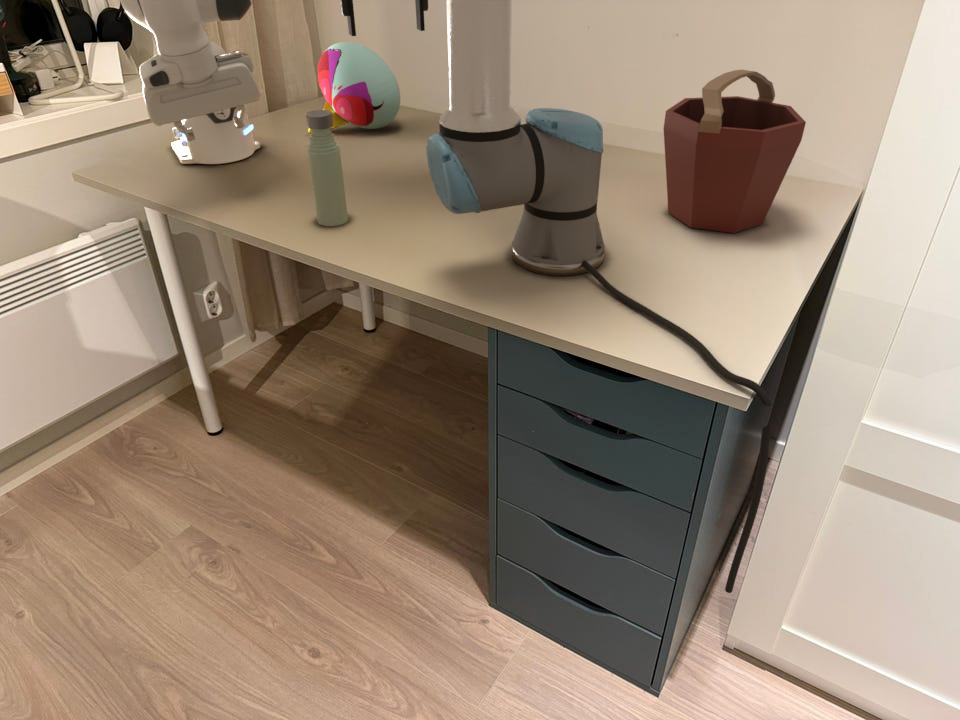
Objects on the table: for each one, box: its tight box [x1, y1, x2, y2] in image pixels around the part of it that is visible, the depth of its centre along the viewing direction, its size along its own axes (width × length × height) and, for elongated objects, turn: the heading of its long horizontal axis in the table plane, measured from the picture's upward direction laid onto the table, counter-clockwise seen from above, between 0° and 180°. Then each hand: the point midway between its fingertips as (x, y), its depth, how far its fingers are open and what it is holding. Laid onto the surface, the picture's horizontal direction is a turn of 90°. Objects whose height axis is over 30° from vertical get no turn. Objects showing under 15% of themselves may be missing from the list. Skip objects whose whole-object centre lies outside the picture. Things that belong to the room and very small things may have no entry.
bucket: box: [663, 69, 807, 234], centre depth 125 cm, size 24×22×25 cm
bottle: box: [306, 128, 349, 227], centre depth 126 cm, size 6×6×19 cm
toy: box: [307, 41, 401, 134], centre depth 176 cm, size 24×24×20 cm
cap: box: [305, 109, 333, 129], centre depth 121 cm, size 4×4×2 cm
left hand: (216, 132), depth 135 cm, fingers open, 8 cm apart
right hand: (387, 32), depth 136 cm, fingers open, 13 cm apart
